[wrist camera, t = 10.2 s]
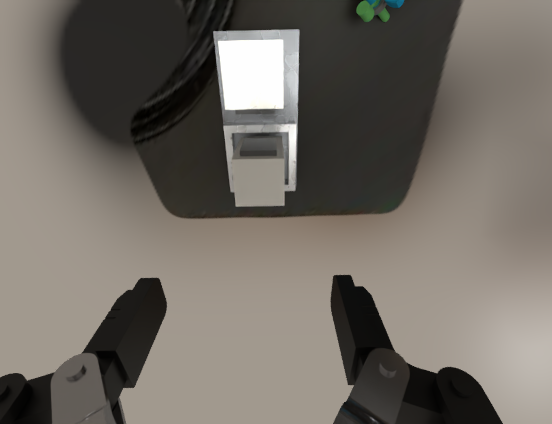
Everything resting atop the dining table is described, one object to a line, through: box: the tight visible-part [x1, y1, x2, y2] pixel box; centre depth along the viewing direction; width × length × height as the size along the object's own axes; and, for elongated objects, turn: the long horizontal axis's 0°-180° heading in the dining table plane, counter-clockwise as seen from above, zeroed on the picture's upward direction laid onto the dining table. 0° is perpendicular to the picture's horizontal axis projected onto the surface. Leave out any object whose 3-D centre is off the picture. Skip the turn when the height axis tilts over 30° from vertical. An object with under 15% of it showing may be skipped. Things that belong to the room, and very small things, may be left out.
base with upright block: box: [213, 29, 299, 192], centre depth 26 cm, size 16×8×9 cm, turn 1°
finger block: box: [231, 136, 284, 207], centre depth 27 cm, size 4×5×8 cm
